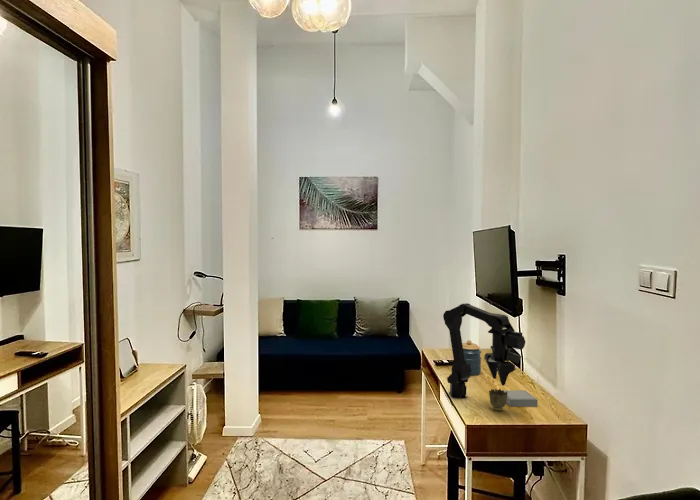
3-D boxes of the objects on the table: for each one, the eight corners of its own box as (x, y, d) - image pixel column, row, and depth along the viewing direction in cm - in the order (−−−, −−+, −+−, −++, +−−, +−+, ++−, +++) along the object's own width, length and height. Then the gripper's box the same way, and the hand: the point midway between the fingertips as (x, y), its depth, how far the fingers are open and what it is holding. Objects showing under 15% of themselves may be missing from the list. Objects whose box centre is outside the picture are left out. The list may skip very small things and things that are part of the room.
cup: (485, 408, 191) (485, 389, 191) (499, 406, 194) (499, 387, 194) (496, 414, 184) (496, 395, 184) (511, 412, 187) (511, 393, 187)
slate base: (510, 406, 193) (510, 399, 193) (499, 397, 205) (499, 390, 205) (537, 406, 194) (537, 399, 194) (525, 396, 206) (525, 390, 206)
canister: (455, 374, 240) (455, 341, 240) (457, 368, 252) (458, 337, 252) (480, 377, 236) (481, 343, 236) (481, 370, 248) (482, 338, 248)
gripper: (528, 350, 180) (527, 388, 180) (508, 340, 198) (508, 375, 199) (501, 350, 179) (500, 389, 179) (484, 340, 198) (483, 375, 198)
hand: (498, 381), depth 189 cm, fingers open, 9 cm apart
